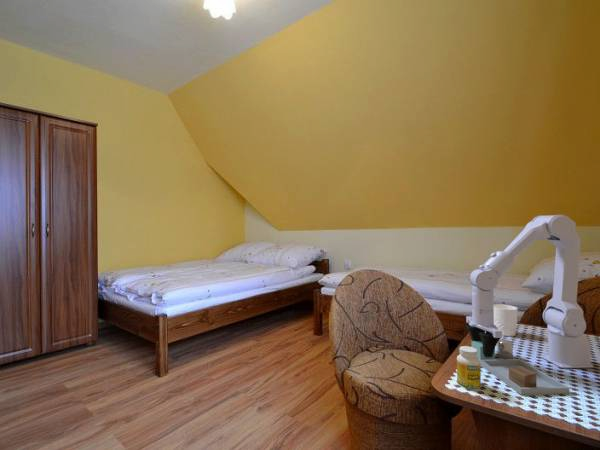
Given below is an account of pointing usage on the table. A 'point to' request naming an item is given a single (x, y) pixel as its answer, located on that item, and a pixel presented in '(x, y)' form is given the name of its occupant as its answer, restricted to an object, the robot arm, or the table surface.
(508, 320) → the white cup
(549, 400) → the table surface
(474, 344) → the teal block
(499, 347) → the cylinder
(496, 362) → the tray
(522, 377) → the walnut cube
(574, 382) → the table surface
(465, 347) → the supplement bottle
